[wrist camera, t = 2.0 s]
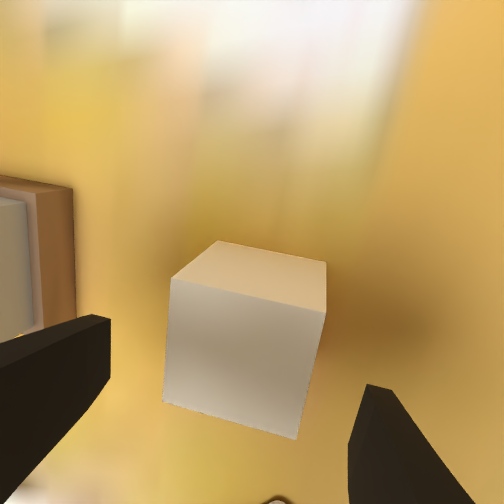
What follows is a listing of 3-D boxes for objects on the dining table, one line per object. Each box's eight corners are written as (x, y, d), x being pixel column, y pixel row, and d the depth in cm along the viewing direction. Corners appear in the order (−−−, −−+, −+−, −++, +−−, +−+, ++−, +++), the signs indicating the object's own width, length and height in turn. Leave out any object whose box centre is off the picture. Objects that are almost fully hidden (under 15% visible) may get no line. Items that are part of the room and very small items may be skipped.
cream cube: (326, 261, 13) (326, 312, 9) (304, 356, 15) (295, 440, 10) (218, 239, 14) (171, 278, 10) (207, 332, 15) (162, 401, 11)
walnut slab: (80, 187, 15) (35, 193, 13) (83, 314, 17) (44, 340, 15) (-39, 165, 16) (-102, 166, 14) (-24, 287, 18) (-76, 307, 16)
